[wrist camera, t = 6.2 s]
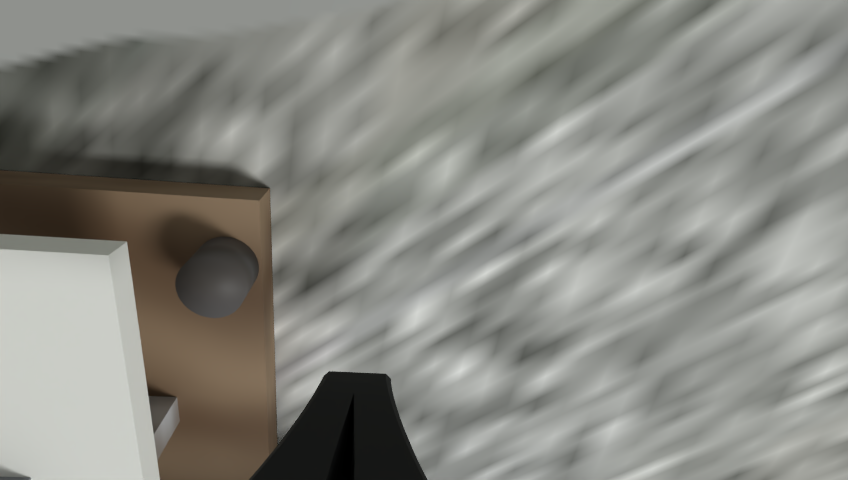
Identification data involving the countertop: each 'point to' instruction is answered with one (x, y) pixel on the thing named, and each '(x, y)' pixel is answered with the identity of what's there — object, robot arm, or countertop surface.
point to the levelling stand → (181, 304)
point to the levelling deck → (71, 363)
